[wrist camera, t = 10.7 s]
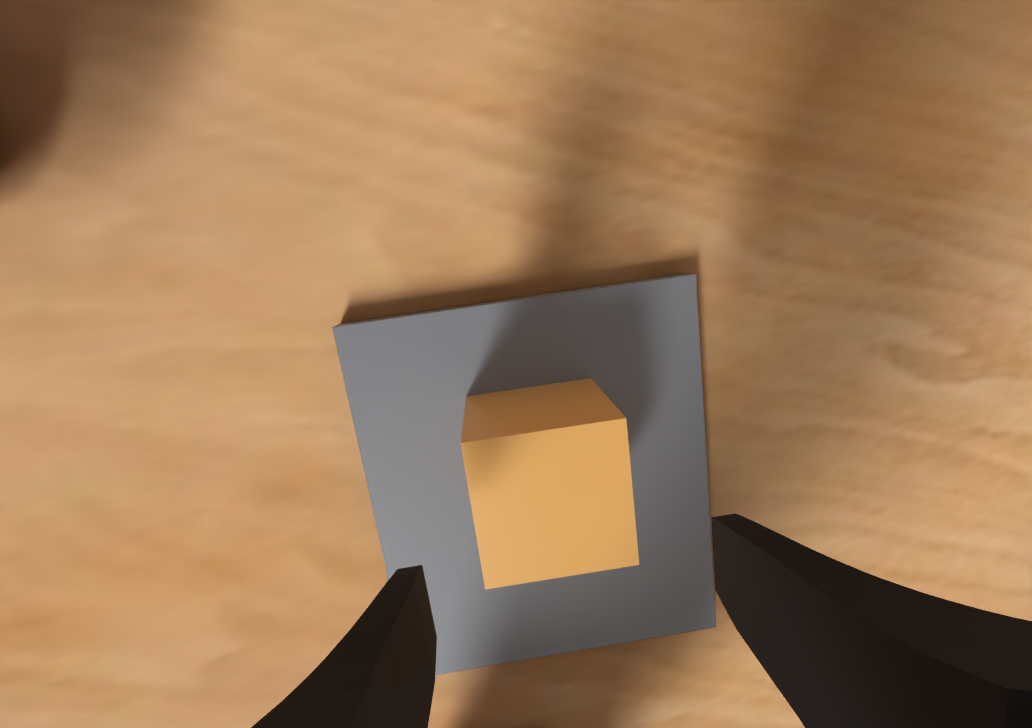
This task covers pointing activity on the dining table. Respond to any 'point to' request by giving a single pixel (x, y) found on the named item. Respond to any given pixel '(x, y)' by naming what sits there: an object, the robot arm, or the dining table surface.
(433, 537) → the board
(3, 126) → the dining table surface
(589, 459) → the mustard yellow cube
